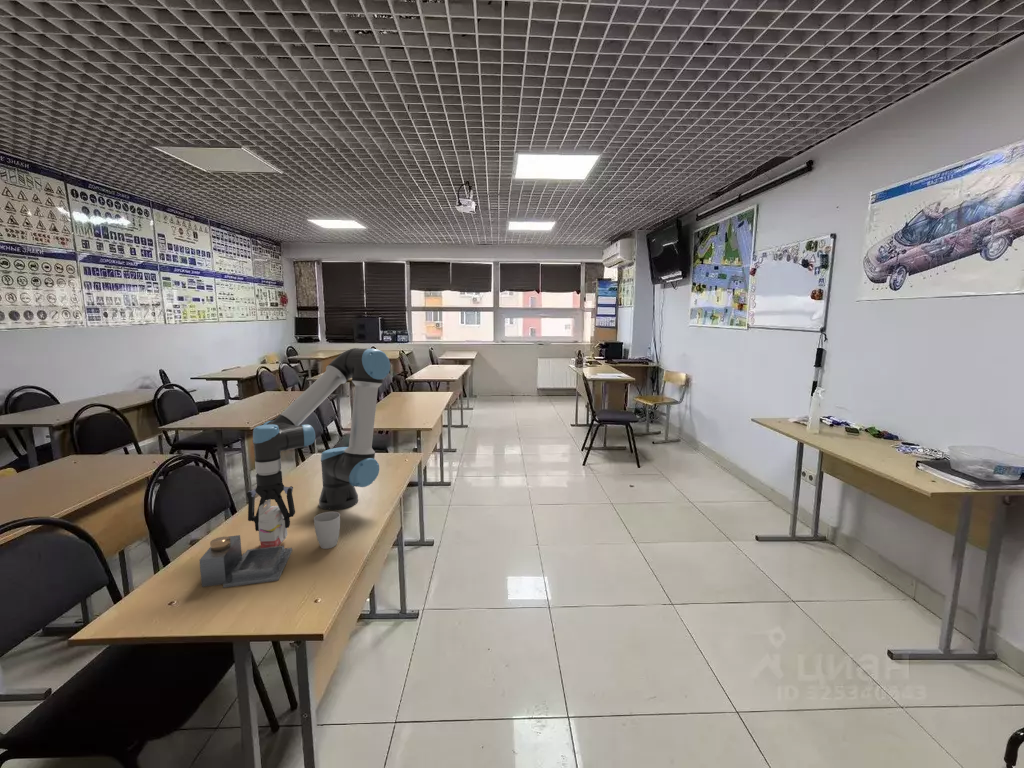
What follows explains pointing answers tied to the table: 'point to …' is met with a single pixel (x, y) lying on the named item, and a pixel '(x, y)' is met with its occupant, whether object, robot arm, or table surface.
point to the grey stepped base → (241, 563)
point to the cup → (327, 529)
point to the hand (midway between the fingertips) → (273, 537)
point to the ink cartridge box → (270, 525)
